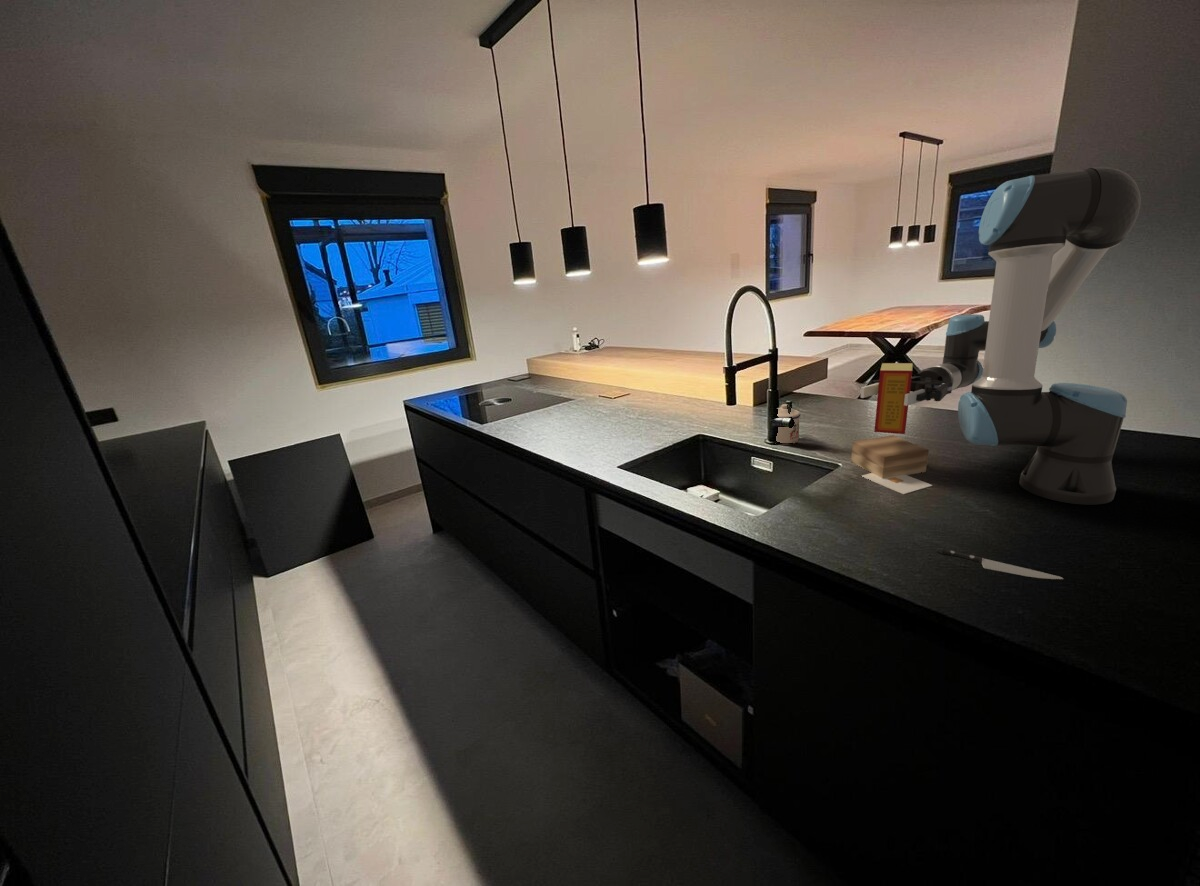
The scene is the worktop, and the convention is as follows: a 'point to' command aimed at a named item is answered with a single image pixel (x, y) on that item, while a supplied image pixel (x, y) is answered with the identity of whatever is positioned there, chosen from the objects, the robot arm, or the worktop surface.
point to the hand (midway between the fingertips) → (883, 396)
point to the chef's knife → (1000, 565)
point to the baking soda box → (893, 397)
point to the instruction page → (898, 483)
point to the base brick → (889, 456)
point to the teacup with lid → (785, 432)
